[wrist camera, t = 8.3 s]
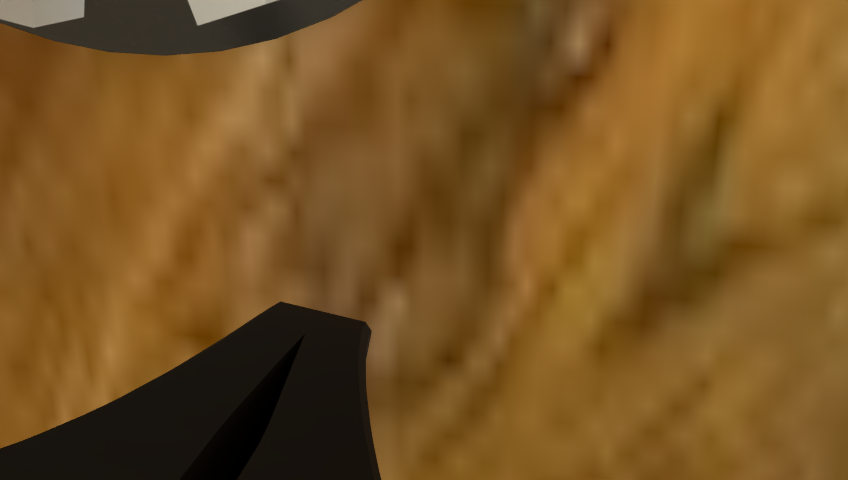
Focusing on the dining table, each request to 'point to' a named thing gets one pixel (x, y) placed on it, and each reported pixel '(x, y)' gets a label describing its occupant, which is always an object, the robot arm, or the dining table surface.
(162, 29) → the wheel base
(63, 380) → the dining table surface
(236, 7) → the sprocket wheel
